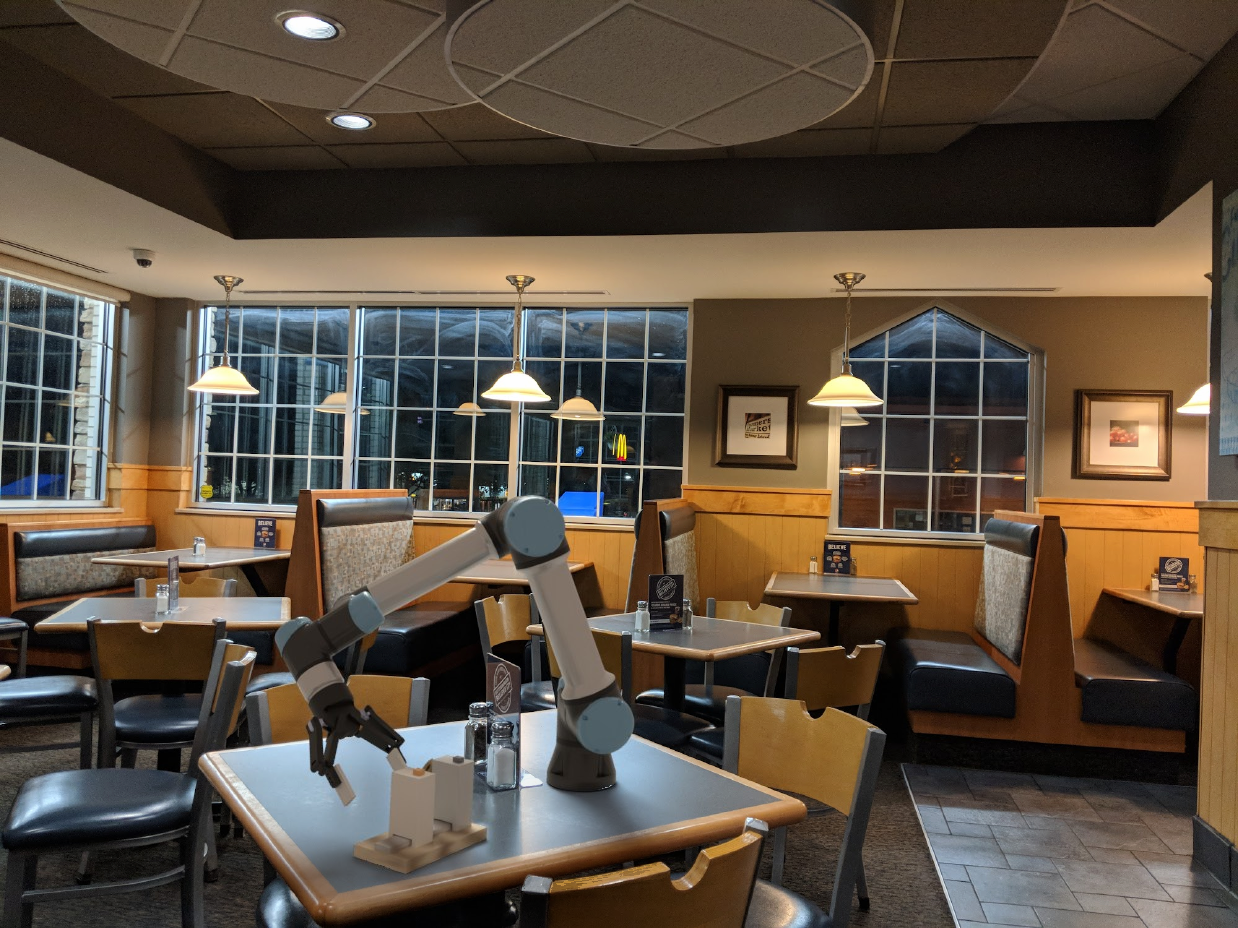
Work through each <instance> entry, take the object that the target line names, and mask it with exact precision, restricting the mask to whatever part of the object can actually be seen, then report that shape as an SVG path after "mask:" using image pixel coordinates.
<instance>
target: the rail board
mask: <svg viewBox="0 0 1238 928" xmlns="http://www.w3.org/2000/svg"><path fill="white" fill-rule="evenodd" d="M452 825H453V823H449V822H446V821H442V820H439V819H437V820H434V821H433V841H432V842H430V843H427V844H425V845H422V846H420V847H417V848H414V847H412V839H408V838H405V837H402V836H399V835H395V836H392V837H389V830H388V831H387V832H384V833H383V832H382V833H380V834H378V835H376V836H373V837H370V838H368V839H364V840H362V841H360V842H357V843H354V844H353V857H354V858H357V859H360V860H363V861H366V860H367V861H366V862H369V863H372V864H374V865H377V864H378V865H377V866H380V865H382V866H381V867H383V866H385V867H384V868H386V869H389V868H390V869H389V870H392V871H396V872H399V873H402V874H404V875H406V874H408V873H409V874H410V872H413V871H416V870H418V869H421V868H422V867H425V866H426V865H429V864H431V863H434V862H436V861H438V860H441V859H443V858H445V857H448V856H450V855H452V854H454V853H457V852H459V851H461V850H463V849H466V848H468V847H470V846H473V845H476V844H477V843H479V842H482V841H484V840H487V839H488V838H487V837H488V836H487V835H488V827H487V826H483V825H480V824H478V823H473V822H472V824H471V826H469V827H466V828H464V829H461V830H459V831H453V830H452Z"/></svg>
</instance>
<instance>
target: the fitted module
mask: <svg viewBox="0 0 1238 928" xmlns="http://www.w3.org/2000/svg"><path fill="white" fill-rule="evenodd" d="M432 773H435V774H436V777H435V799H434V820H437V819H439V820H442V821H446V822H449V823H453V825H452V830H453V831H459V830H461V829H464V828H466V827H469V826H471V824H472V823H473V822H472V818H473V796H474V778H475V777H474V774H475V760H471V759H466V758H465V756H461V755H456V756H454V755H449V754H447V755H443V756H439V757H436V758H433V760H432ZM434 820H433V821H434Z"/></svg>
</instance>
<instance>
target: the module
mask: <svg viewBox="0 0 1238 928" xmlns="http://www.w3.org/2000/svg"><path fill="white" fill-rule="evenodd" d="M390 777H391V778H390V800H389V802H390V803H389V818H388V819H389V821H388V831H389V837H392V836H395V835H399V836H402V837H405V838H408V839H412V847H414V848H417V847H420V846H422V845H425V844H427V843H430V842H432V841H433V820H434V799H435V777H436V774H435V773H431V772H427V771H425V769H422V768H421V767H416V768H415V767H411V766H407V767H406V768H403V769H400V770H397V771H393V770H392V771H391V776H390Z"/></svg>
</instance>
